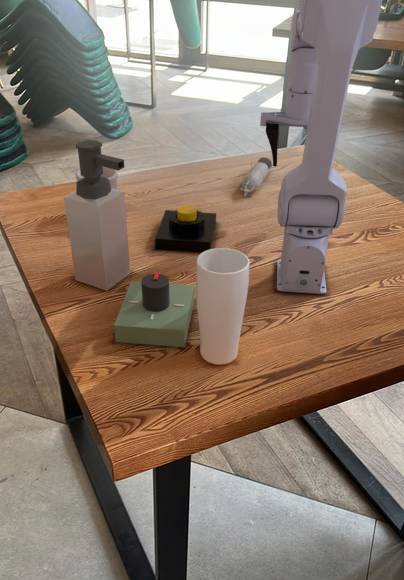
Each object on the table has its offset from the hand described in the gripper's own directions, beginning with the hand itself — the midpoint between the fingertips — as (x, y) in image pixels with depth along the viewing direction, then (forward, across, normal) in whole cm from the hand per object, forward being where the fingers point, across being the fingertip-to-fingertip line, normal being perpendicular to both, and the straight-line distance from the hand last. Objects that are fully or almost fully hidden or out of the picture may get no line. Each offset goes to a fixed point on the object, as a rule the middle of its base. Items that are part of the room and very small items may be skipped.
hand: (294, 165), depth 110 cm
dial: (+7, +20, +41) cm, 46 cm away
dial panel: (+10, +20, +41) cm, 46 cm away
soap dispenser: (+10, +30, +30) cm, 43 cm away
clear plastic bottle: (+10, +7, -14) cm, 19 cm away
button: (+6, +19, +13) cm, 24 cm away
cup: (+10, +37, +6) cm, 39 cm away
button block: (+10, +19, +13) cm, 25 cm away
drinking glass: (+10, +10, +48) cm, 50 cm away
